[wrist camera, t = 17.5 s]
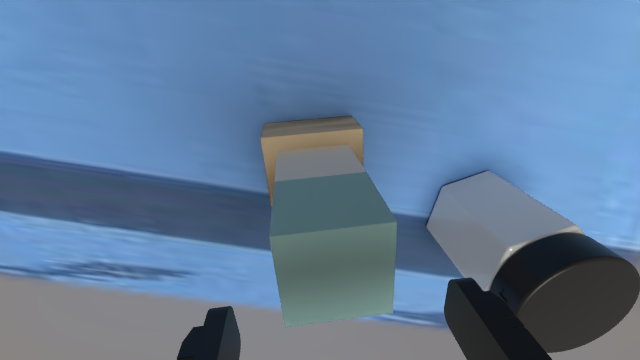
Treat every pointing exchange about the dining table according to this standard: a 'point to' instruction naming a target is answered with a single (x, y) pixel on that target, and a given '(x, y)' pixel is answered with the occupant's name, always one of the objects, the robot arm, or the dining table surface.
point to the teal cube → (332, 248)
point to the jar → (533, 261)
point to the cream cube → (316, 162)
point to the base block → (308, 139)
